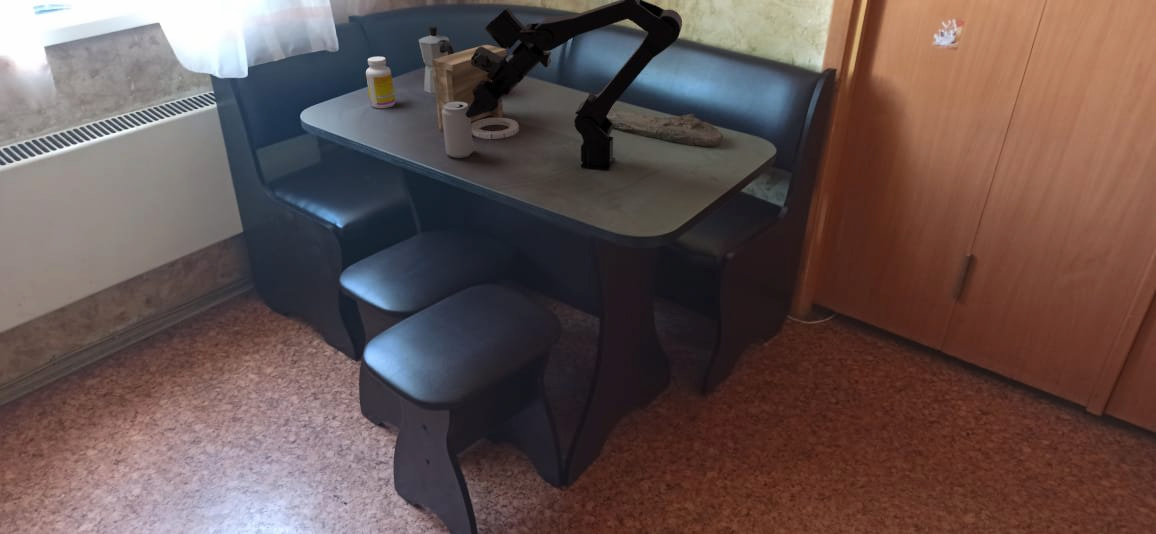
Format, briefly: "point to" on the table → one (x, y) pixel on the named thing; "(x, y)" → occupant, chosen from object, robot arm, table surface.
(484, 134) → the socket ring
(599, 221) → the table surface
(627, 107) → the table surface
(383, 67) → the supplement bottle
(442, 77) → the wooden tray
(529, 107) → the table surface
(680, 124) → the elongated rock
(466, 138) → the beverage can
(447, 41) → the coffee maker
